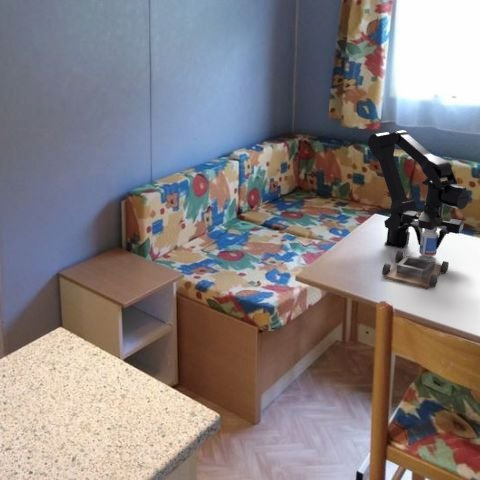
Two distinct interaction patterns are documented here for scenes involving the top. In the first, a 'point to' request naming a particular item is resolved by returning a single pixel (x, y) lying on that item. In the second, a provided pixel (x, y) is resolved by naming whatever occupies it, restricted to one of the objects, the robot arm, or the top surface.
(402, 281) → the chassis
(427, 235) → the pill bottle
